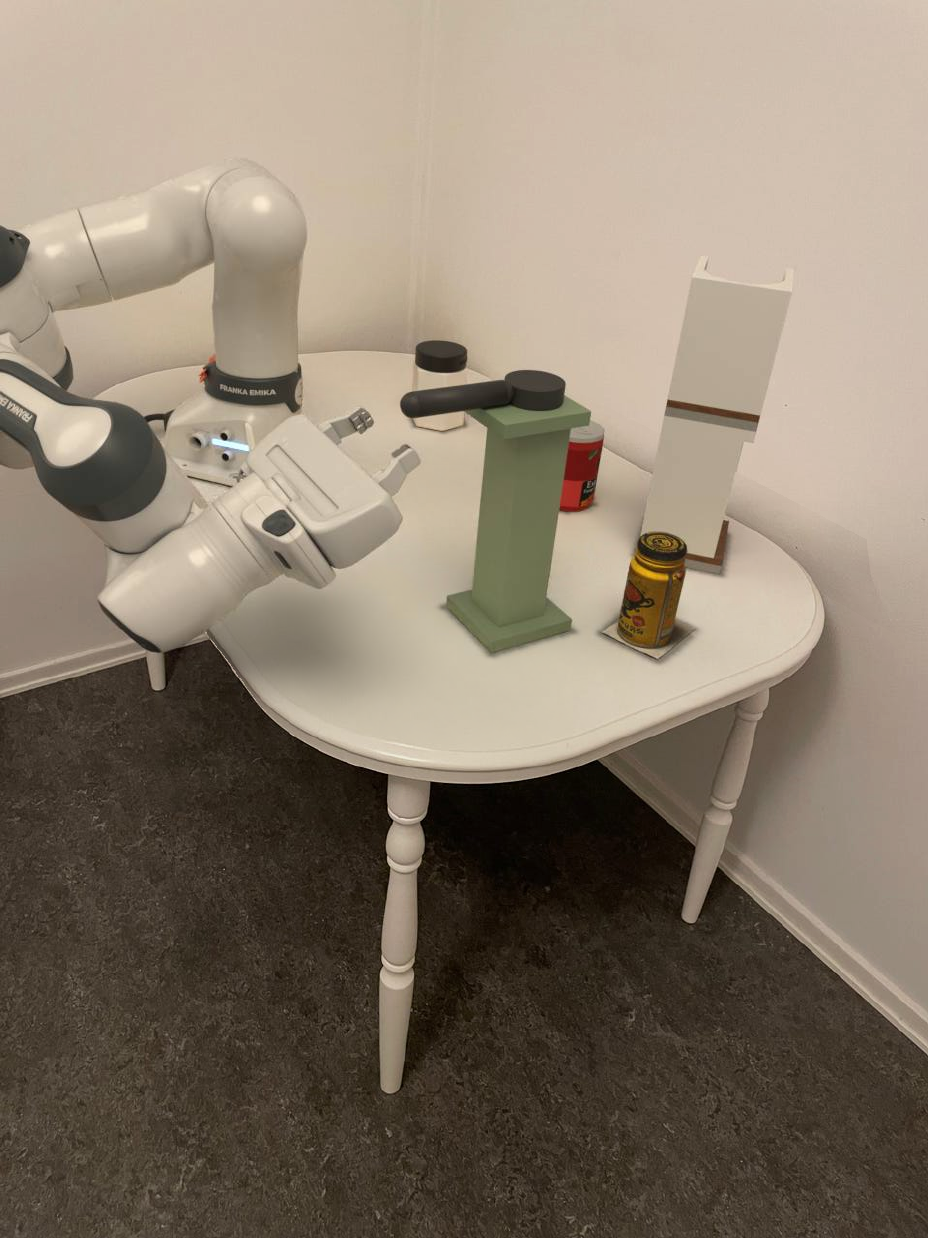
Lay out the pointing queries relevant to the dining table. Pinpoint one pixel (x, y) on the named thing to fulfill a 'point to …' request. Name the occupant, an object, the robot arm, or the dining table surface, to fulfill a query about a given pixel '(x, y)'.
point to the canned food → (582, 467)
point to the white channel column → (713, 407)
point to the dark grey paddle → (489, 395)
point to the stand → (518, 525)
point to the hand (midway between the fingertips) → (390, 432)
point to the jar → (439, 377)
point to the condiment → (653, 596)
